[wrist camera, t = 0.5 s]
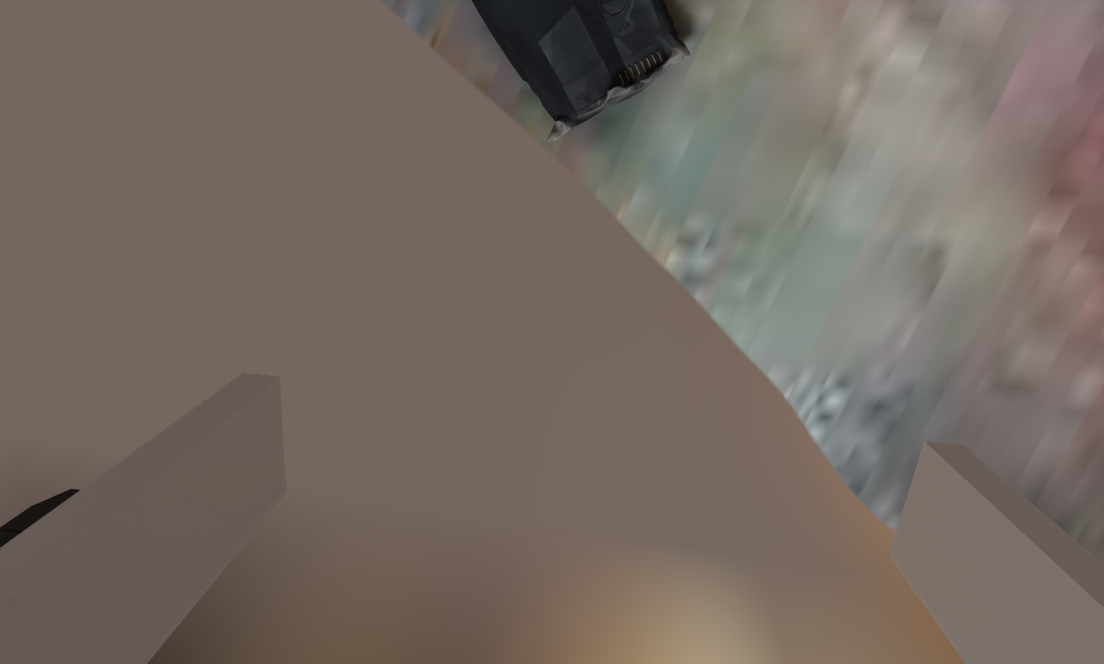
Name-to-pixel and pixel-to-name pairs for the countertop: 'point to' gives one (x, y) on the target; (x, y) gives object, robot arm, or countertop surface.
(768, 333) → the countertop surface
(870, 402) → the countertop surface
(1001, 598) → the robot arm
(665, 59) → the electronic device
